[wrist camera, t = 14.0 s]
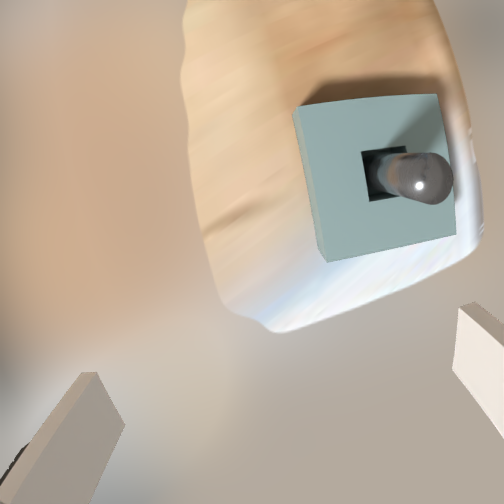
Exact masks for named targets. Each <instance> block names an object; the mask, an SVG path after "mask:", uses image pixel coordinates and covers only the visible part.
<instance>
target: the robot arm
mask: <svg viewBox="0 0 504 504" xmlns="http://www.w3.org/2000/svg"><path fill="white" fill-rule="evenodd" d="M452 370H453V371H454V373H455V374H456V375H457V376H458V378H459V379H460V380H461V381H462V383H463V384H464V385H465V387H467V389H468V391H469V392H470V393H471V394H472V396H473V397H474V398H475V400H476V401H477V402H478V403H479V405H480V406H481V408H482V409H483V410H484V412H485V413H486V415H487V416H488V417H489V418H490V420H491V421H492V423H493V424H494V426H495V427H496V428H497V430H498V431H499V433H500V434H501V435H502V437H503V438H504V324H503V323H502V322H500V321H499V320H497V318H495V317H494V316H493V315H492V314H490V313H489V312H488V311H486V310H485V309H484V308H482V307H481V306H480V305H479V304H477V303H476V302H473V303H471V304H467V305H464V306H461V307H459V311H458V324H457V335H456V344H455V353H454V360H453V368H452ZM124 427H125V423H124V422H123V420H122V418H121V416H120V415H119V413H118V411H117V409H116V408H115V406H114V404H113V402H112V400H111V399H110V397H109V395H108V393H107V391H106V389H105V387H104V385H103V383H102V382H101V380H100V378H99V376H98V374H97V372H87V373H81V374H80V375H79V377H78V378H77V379H76V381H75V382H74V383H73V384H72V386H71V387H70V388H69V390H68V391H67V392H66V394H65V395H64V396H63V398H62V399H61V400H60V402H59V403H58V404H57V406H56V407H55V409H54V410H53V411H52V412H51V414H50V415H49V417H48V418H47V419H46V421H45V422H44V423H43V425H42V426H41V428H40V429H39V430H38V432H37V433H36V434H35V436H34V437H33V439H32V440H31V442H29V443H28V444H27V445H26V446H25V447H24V448H22V449H21V450H20V452H19V453H18V454H17V456H16V457H15V459H14V462H12V463H11V464H10V466H9V470H8V469H7V471H6V472H5V473H4V475H3V476H2V478H1V479H0V504H89V503H90V501H91V498H92V496H93V494H94V491H95V489H96V487H97V485H98V482H99V480H100V478H101V476H102V474H103V471H104V469H105V467H106V465H107V463H108V461H109V459H110V456H111V454H112V452H113V450H114V448H115V446H116V444H117V441H118V439H119V437H120V435H121V433H122V431H123V429H124Z"/></svg>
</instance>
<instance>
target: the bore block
mask: <svg viewBox="0 0 504 504" xmlns="http://www.w3.org/2000/svg"><path fill="white" fill-rule="evenodd" d="M292 117H293V122H294V126H295V130H296V135H297V140H298V144H299V149H300V154H301V158H302V163H303V168H304V173H305V178H306V183H307V188H308V194H309V199H310V204H311V210H312V215H313V221H314V227H315V232H316V238H317V244H318V249H319V251H320V253H321V254H322V256H323V257H324V259H325V260H326V262H327V263H328V262H333V261H338V260H342V259H347V258H352V257H357V256H361V255H366V254H371V253H375V252H380V251H385V250H389V249H394V248H398V247H403V246H407V245H412V244H416V243H421V242H425V241H430V240H434V239H438V238H443V237H447V236H451V235H456V218H455V204H454V193H453V186H452V189H451V192H450V194H449V196H448V197H447V198H446V199H445V200H444V201H443V202H441V203H439V204H436V205H429V204H425V203H422V202H418V201H415V200H411V199H408V198H404V197H401V196H397V195H394V194H390V193H386V192H383V191H379V190H375V189H371V188H368V187H367V184H366V178H365V172H364V167H363V161H362V159H363V158H364V157H366V156H368V155H372V154H393V153H430V152H431V153H437V154H439V155H441V156H442V157H444V158H445V159H446V160H447V162H448V163H449V165H450V160H449V153H448V147H447V141H446V135H445V130H444V125H443V120H442V115H441V110H440V106H439V101H438V97H437V94H412V95H394V96H381V97H369V98H359V99H350V100H341V101H333V102H325V103H318V104H311V105H305V106H299V107H297V108H296V109H295V111H294V113H293V114H292Z"/></svg>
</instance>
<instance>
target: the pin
mask: <svg viewBox="0 0 504 504" xmlns="http://www.w3.org/2000/svg"><path fill="white" fill-rule="evenodd" d="M362 161H363V167H364V172H365V178H366V184H367V187H368V188H371V189H375V190H379V191H383V192H386V193H390V194H394V195H397V196H401V197H404V198H408V199H411V200H415V201H418V202H422V203H425V204H429V205H436V204H439V203H441V202H443V201H444V200H445V199H446V198H447V197H448V196H449V194H450V192H451V189H452V186H453V174H452V170H451V167H450V165H449V163H448V162H447V160H446V159H445V158H444V157H442V156H441V155H439V154H437V153H431V152H430V153H393V154H372V155H368V156H366V157H364V158H363V159H362Z"/></svg>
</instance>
